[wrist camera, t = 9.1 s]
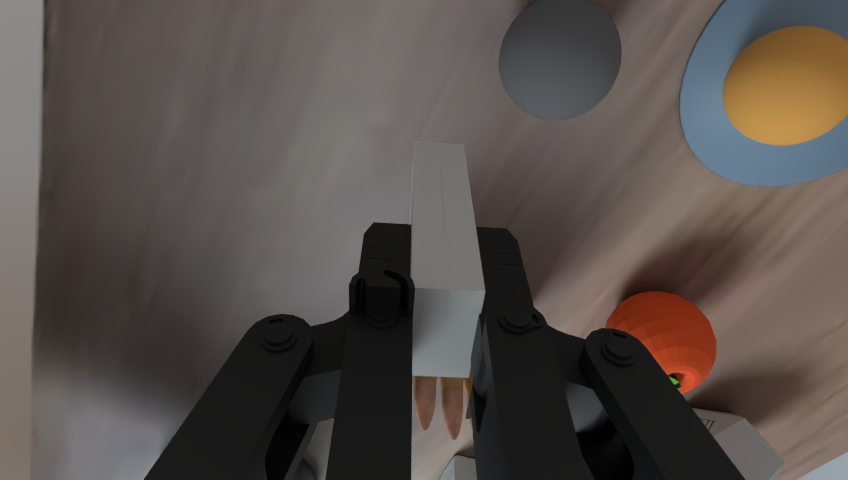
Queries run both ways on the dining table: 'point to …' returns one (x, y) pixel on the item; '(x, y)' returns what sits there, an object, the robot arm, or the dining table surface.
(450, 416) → the ammunition clip
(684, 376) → the clementine
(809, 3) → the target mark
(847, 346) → the dining table surface
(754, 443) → the die
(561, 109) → the dark grey sphere
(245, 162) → the dining table surface
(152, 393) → the dining table surface
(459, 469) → the skincare box
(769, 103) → the orange ball
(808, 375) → the dining table surface
